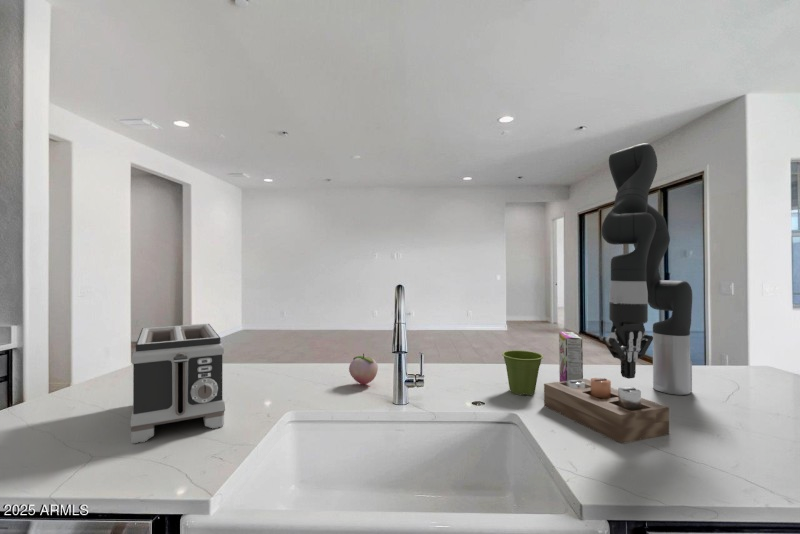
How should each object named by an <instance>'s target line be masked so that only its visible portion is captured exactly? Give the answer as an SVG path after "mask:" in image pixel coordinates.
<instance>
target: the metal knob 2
mask: <svg viewBox="0 0 800 534" xmlns="http://www.w3.org/2000/svg"><path fill="white" fill-rule="evenodd" d="M617 390H618V405H619V406H621V407H623V408H627V409H640V408H641V398H642V391H641V390H640V389H638V388H636V387H629V386H620V387H618V388H617Z"/></svg>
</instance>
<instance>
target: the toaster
mask: <svg viewBox="0 0 800 534" xmlns="http://www.w3.org/2000/svg"><path fill="white" fill-rule="evenodd" d="M224 348H225V347H224V346H223V344H222V343H221V337H220V335H219V334H218V333H217V331H216V330H214V328H213V326H211V324H210V323H197V324H183V325H168V326H156V327H155V326H153V327H142V328H141V330H140V333H139V334H138V338H137V340H136V343H135V348H134V350H133V353H132V355H131V363H132V365H133V368H132V371H133V373H132V374H133V375H132V376H133V377H132V380H133V381H132V382H133V383H132V384H133V385H132V387H133V391H132V392H133V396H132V398H133V401H132V403H133V407H132V412H131V416H130V425H129V427H130V442H131V444H133V443H138V442H143V443H145V442H144V441H146V442H147V441H149V439H151V438H152V437H154V436H155V426H159V425H160V426H161V425H166V424H170V423H176V422H181V421H187V420H194V419H199V418H202V419H203V423H204V426H205V427H206V428H210V429H211V428H212V429H211V430H213V428H215V429H219V428H218V427H220V428H223V427H224V426H225V411H226V407H225V406H226V404H225V400H224V398H223V355H224V354H225V352H224V351H225V349H224ZM138 444H139V443H138Z"/></svg>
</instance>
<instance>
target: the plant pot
mask: <svg viewBox="0 0 800 534" xmlns="http://www.w3.org/2000/svg"><path fill="white" fill-rule="evenodd" d="M501 355H502V356H503V359H504V364H505V367H506V372H507V373H506V374H507V381H508V386H509V387H508V388H509V391H510V392H511V393H513V394H516V395H518V394H521V395H520V396H524V395H527V396H532V395H534V394H535V393H536V387H537V381H538V377H539V370H540V367H541V364H542V359H544V355H543V354H542V353H539V352H537V351H535V352H534V351H530V350H519V349H517V350H505V351H503V352H502V353H501ZM531 394H532V395H531Z"/></svg>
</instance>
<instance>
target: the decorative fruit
mask: <svg viewBox="0 0 800 534" xmlns="http://www.w3.org/2000/svg"><path fill="white" fill-rule="evenodd" d="M378 369H379V365H378V363H377V362H376V360H375V359H373V358H372V357H370V356H365V353H362V355H357V356H356V355H355V356H353V360H351V362H350V364H349V365H348V372H349V373H350V374H349V375H350V376H351V377H352V378H353V380H354V381H356V382H357V383H358V384H360V385H362V386H365V385H367V384H368V385H369V383H371V382H373V381H374V379H375V378H376V377H377V374H378Z"/></svg>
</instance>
